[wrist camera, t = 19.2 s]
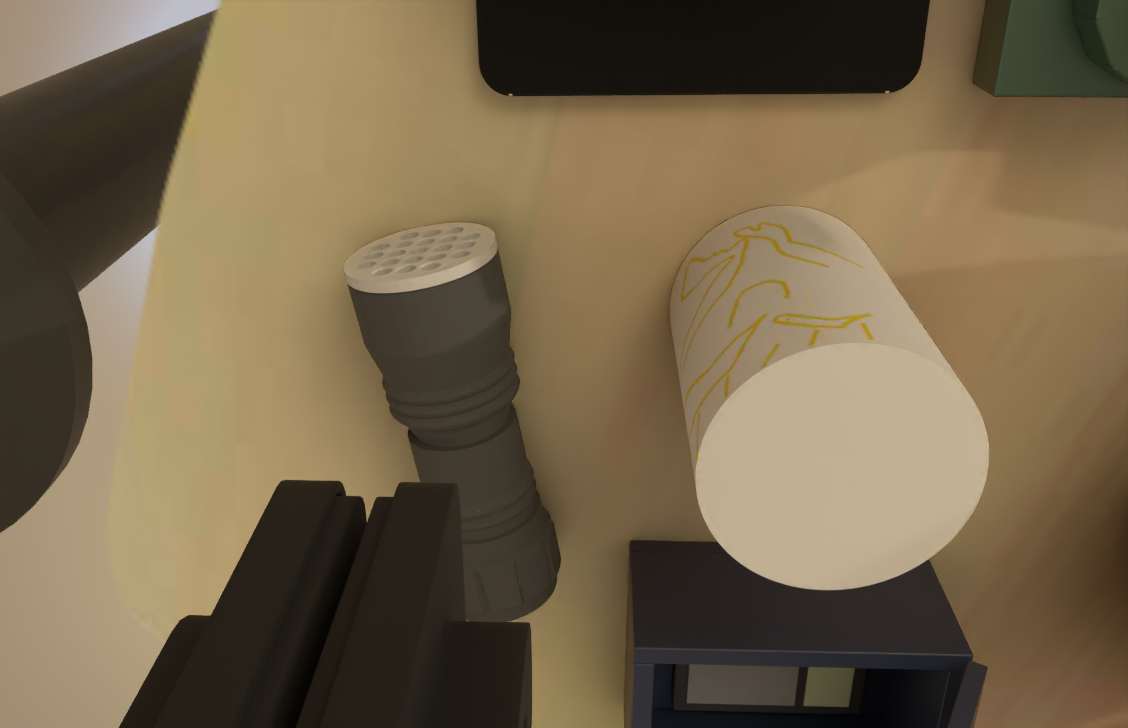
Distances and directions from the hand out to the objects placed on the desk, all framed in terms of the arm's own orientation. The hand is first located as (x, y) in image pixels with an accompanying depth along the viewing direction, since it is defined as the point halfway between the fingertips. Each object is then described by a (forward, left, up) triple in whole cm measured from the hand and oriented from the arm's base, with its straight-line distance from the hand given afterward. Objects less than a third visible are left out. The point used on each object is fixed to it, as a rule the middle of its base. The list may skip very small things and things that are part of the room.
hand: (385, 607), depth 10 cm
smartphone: (+5, +3, -29) cm, 30 cm away
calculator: (+10, -25, -28) cm, 39 cm away
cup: (+9, -9, -29) cm, 32 cm away
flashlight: (-3, -13, -29) cm, 32 cm away
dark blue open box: (+10, -25, -29) cm, 40 cm away
